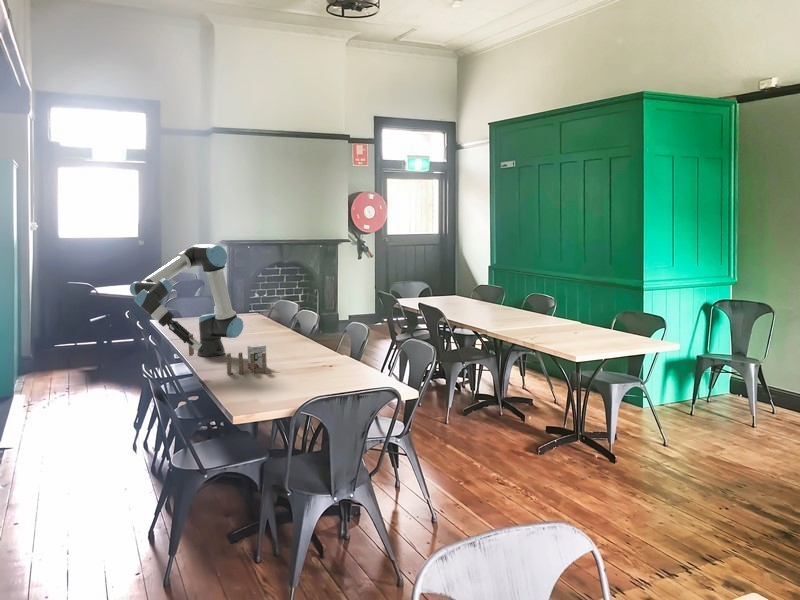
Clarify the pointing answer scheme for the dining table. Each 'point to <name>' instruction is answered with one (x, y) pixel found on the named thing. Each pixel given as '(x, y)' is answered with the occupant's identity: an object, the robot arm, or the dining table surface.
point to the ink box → (256, 355)
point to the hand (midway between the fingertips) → (199, 347)
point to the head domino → (191, 350)
